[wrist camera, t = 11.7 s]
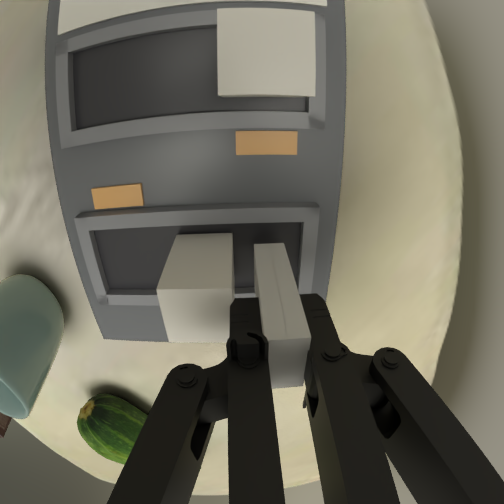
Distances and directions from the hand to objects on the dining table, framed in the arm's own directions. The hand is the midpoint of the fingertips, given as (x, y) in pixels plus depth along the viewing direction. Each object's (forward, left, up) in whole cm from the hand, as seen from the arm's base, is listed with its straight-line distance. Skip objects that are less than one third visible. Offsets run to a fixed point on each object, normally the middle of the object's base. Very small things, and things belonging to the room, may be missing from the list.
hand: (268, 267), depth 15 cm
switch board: (-5, -4, -4) cm, 7 cm away
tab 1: (0, -3, -1) cm, 4 cm away
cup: (+5, -19, -4) cm, 20 cm away
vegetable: (+25, -13, -4) cm, 28 cm away
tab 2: (-10, -1, -1) cm, 10 cm away
